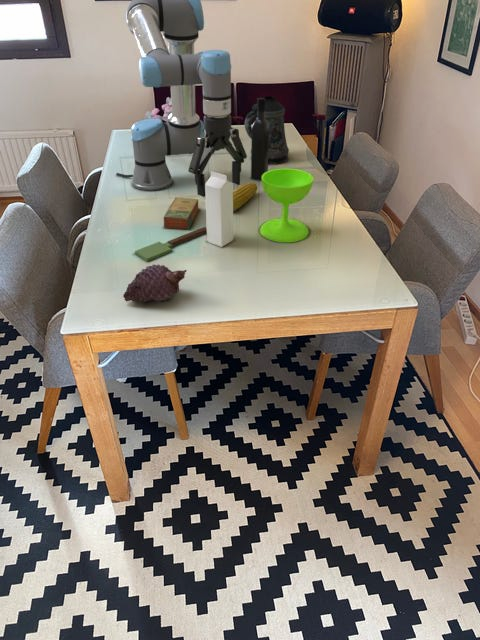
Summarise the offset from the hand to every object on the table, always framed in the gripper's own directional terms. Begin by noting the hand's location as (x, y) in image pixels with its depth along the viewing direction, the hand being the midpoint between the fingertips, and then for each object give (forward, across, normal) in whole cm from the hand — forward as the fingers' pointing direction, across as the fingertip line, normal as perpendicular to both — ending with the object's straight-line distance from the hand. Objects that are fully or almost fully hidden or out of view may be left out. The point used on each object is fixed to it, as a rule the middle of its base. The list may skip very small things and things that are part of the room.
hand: (219, 189), depth 152 cm
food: (+17, +25, +17) cm, 35 cm away
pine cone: (+18, -33, -12) cm, 40 cm away
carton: (+17, +1, +21) cm, 27 cm away
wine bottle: (+17, +47, +30) cm, 58 cm away
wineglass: (+17, +20, -9) cm, 28 cm away
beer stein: (+17, +65, +43) cm, 80 cm away
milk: (+17, 0, 0) cm, 17 cm away
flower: (+16, +43, +85) cm, 97 cm away
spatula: (+17, -12, +8) cm, 22 cm away
